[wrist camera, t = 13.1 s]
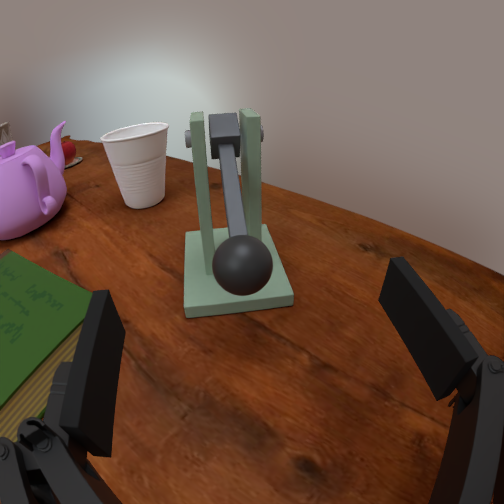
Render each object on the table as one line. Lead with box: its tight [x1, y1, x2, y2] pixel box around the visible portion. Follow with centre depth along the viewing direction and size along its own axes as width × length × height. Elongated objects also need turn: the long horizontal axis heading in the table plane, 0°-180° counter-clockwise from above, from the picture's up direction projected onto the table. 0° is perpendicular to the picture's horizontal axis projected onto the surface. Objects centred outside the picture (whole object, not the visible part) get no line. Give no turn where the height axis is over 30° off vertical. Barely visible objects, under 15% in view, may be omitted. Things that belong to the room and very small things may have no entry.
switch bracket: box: [184, 108, 294, 318], centre depth 26 cm, size 12×9×15 cm
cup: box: [100, 122, 169, 209], centre depth 42 cm, size 10×10×11 cm
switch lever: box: [209, 113, 273, 296], centre depth 21 cm, size 14×4×4 cm, turn 9°
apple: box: [61, 141, 82, 168], centre depth 65 cm, size 8×8×6 cm
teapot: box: [0, 121, 67, 240], centre depth 40 cm, size 22×22×14 cm
